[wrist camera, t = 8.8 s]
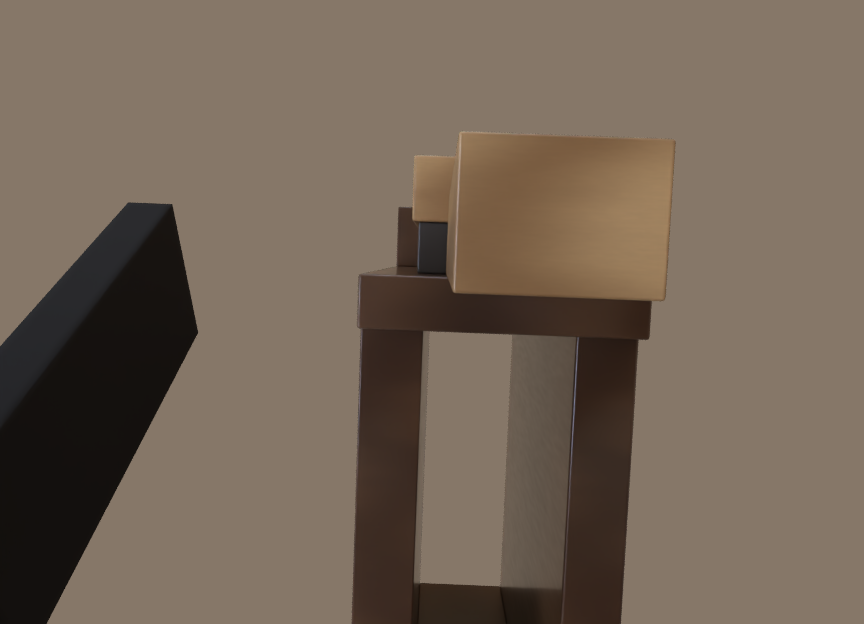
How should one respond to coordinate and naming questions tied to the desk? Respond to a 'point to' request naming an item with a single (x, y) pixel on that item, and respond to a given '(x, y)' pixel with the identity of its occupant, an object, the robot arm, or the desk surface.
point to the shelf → (526, 449)
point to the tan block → (547, 215)
